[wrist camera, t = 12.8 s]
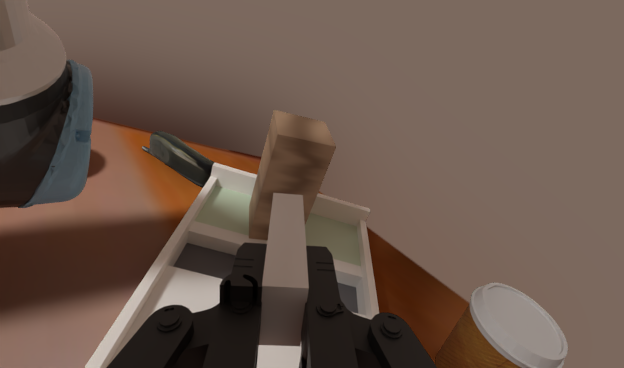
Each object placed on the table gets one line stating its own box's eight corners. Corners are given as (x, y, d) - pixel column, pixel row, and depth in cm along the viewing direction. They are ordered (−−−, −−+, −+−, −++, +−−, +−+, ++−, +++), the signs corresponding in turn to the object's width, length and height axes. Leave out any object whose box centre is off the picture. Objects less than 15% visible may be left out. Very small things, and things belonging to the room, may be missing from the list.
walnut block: (248, 238, 42) (277, 134, 34) (249, 205, 48) (274, 109, 40) (297, 243, 44) (336, 146, 36) (292, 212, 50) (324, 122, 42)
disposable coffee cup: (451, 327, 44) (504, 271, 38) (512, 397, 38) (587, 344, 32) (407, 351, 38) (460, 290, 32) (469, 437, 32) (550, 382, 26)
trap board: (379, 461, 28) (410, 435, 25) (81, 402, 25) (75, 364, 22) (356, 234, 55) (369, 208, 51) (209, 192, 52) (214, 162, 48)
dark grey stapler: (221, 162, 52) (154, 122, 55) (208, 168, 49) (139, 125, 52) (216, 185, 54) (152, 146, 58) (204, 192, 52) (138, 150, 55)
